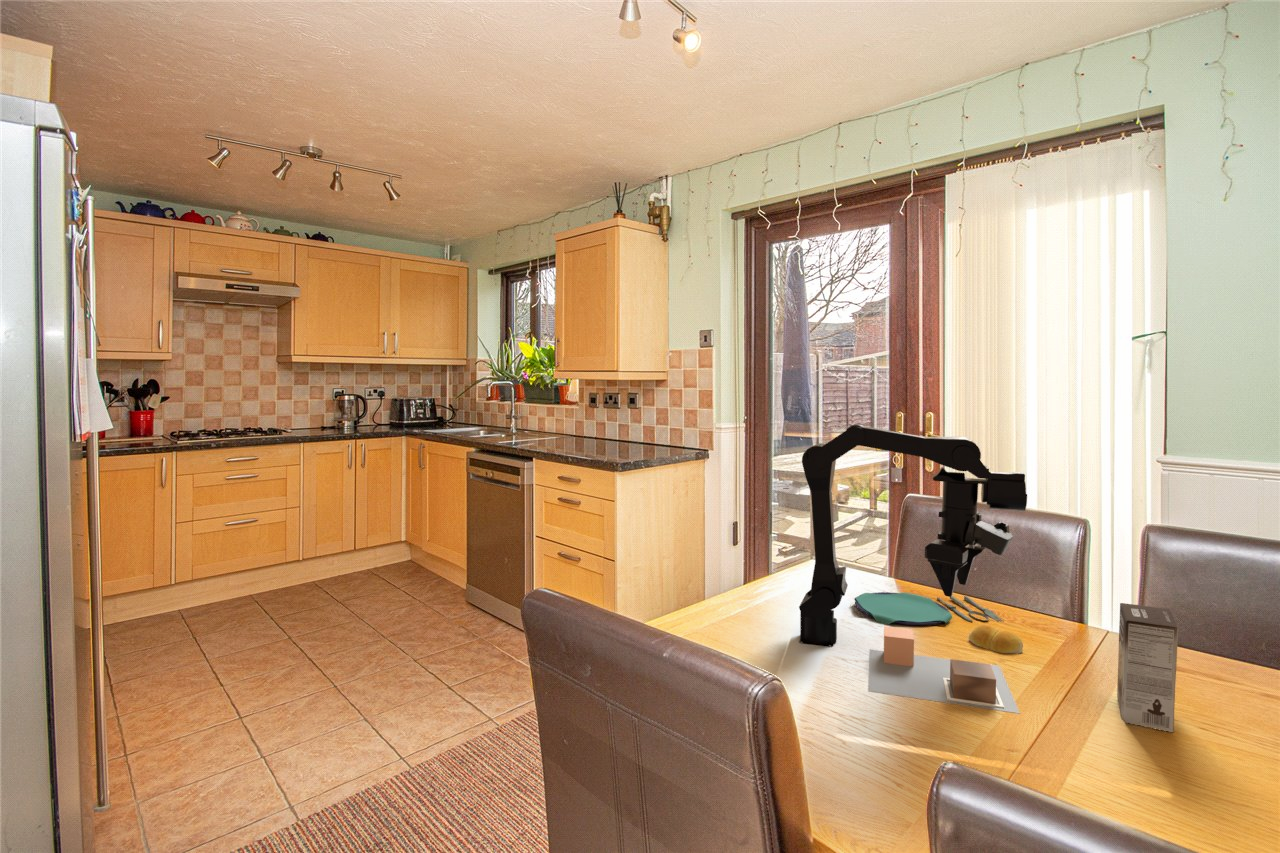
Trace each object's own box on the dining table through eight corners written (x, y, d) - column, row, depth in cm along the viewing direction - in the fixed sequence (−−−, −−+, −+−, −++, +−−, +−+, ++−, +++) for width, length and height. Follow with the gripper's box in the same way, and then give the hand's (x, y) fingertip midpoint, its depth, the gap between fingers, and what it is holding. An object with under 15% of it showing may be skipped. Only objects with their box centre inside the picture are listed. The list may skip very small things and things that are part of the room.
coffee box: (1115, 697, 104) (1118, 601, 103) (1165, 707, 101) (1169, 608, 100) (1121, 723, 97) (1125, 618, 96) (1176, 734, 93) (1180, 626, 92)
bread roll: (1014, 661, 119) (1014, 640, 119) (964, 646, 126) (964, 626, 126) (1030, 648, 125) (1030, 628, 124) (981, 635, 131) (981, 616, 131)
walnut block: (953, 698, 103) (954, 673, 103) (949, 682, 109) (950, 659, 109) (995, 704, 101) (996, 679, 101) (989, 687, 107) (990, 664, 107)
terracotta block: (883, 662, 117) (884, 636, 117) (883, 652, 122) (884, 626, 121) (913, 666, 115) (914, 639, 115) (912, 655, 120) (912, 629, 120)
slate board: (868, 694, 106) (868, 689, 106) (869, 652, 123) (869, 648, 123) (1019, 717, 98) (1019, 712, 98) (999, 668, 115) (999, 664, 115)
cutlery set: (842, 599, 154) (842, 590, 154) (964, 599, 155) (965, 590, 155) (874, 632, 134) (875, 621, 134) (1015, 631, 135) (1015, 621, 135)
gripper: (996, 521, 104) (992, 614, 106) (1020, 505, 119) (1016, 587, 120) (925, 511, 112) (921, 598, 113) (955, 497, 126) (952, 575, 127)
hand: (955, 590), depth 118 cm, fingers open, 9 cm apart
